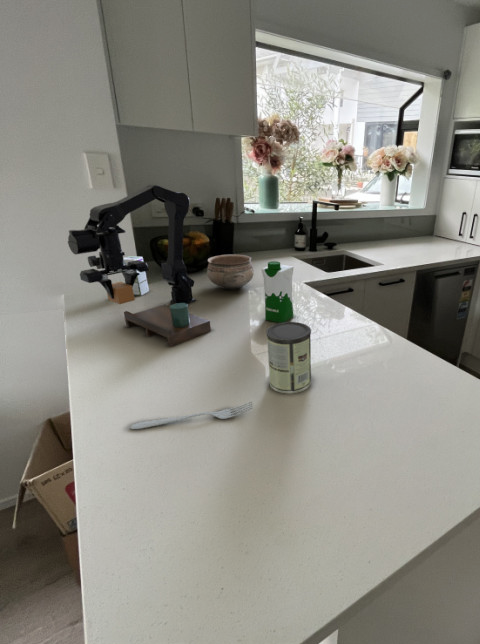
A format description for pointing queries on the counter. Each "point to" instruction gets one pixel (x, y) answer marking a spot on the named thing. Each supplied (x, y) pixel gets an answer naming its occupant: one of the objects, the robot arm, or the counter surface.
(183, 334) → the shelf
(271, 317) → the milk carton
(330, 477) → the counter surface
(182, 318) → the tea tin
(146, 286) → the syrup box
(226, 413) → the fork
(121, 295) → the kraft box
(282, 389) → the coffee can
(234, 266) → the cooking pot
